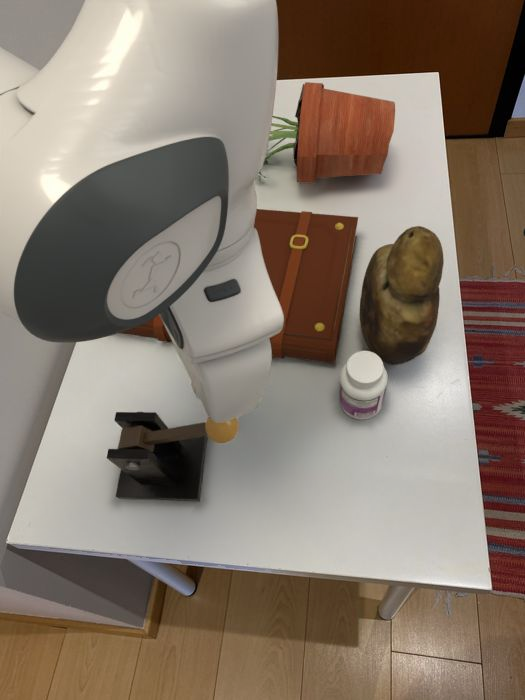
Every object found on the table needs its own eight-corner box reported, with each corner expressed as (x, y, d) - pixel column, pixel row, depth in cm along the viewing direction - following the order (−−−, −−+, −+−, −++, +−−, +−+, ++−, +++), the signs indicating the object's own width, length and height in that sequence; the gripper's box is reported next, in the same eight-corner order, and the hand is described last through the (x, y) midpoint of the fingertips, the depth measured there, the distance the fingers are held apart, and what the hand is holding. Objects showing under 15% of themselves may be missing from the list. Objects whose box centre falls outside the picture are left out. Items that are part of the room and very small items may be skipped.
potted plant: (380, 146, 87) (181, 134, 90) (398, 63, 73) (162, 52, 77) (377, 218, 81) (162, 202, 84) (396, 142, 67) (138, 126, 70)
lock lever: (246, 413, 50) (227, 402, 47) (244, 445, 48) (224, 435, 46) (140, 432, 56) (119, 423, 54) (135, 460, 55) (113, 452, 52)
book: (161, 218, 83) (152, 195, 78) (357, 236, 76) (358, 212, 72) (112, 338, 72) (99, 319, 68) (333, 370, 66) (334, 351, 62)
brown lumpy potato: (424, 390, 63) (460, 299, 46) (355, 386, 65) (365, 296, 47) (421, 301, 70) (451, 191, 52) (358, 299, 71) (368, 191, 53)
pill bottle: (353, 374, 65) (356, 336, 57) (390, 394, 63) (399, 358, 55) (330, 406, 64) (331, 372, 55) (368, 429, 62) (374, 397, 53)
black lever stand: (207, 436, 64) (184, 399, 53) (200, 501, 60) (173, 474, 50) (130, 435, 65) (93, 398, 55) (118, 498, 61) (76, 472, 51)
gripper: (86, 145, 37) (108, 270, 48) (201, 376, 28) (194, 460, 40) (169, 130, 39) (171, 253, 50) (299, 340, 30) (265, 430, 42)
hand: (182, 346), depth 45 cm, fingers open, 8 cm apart
